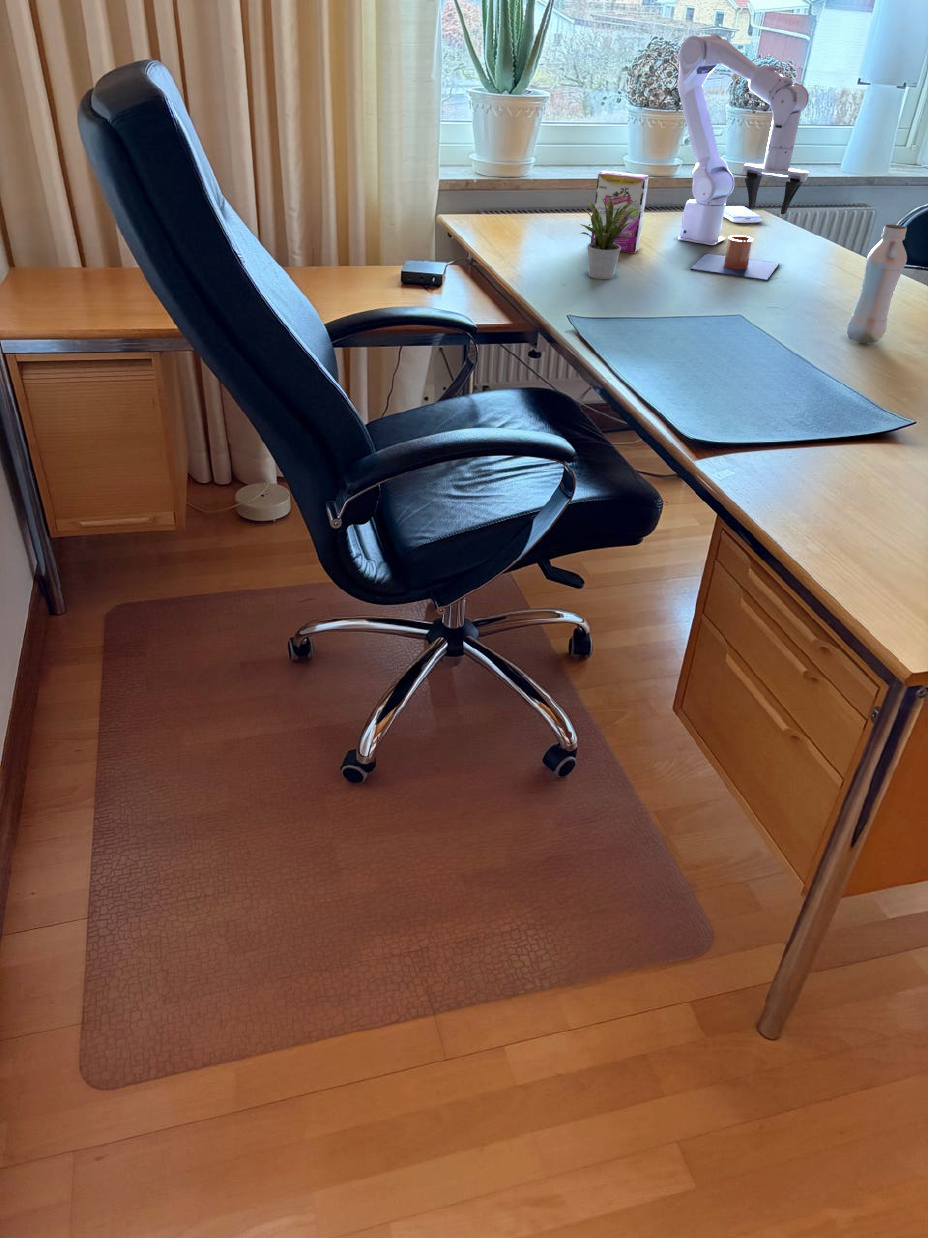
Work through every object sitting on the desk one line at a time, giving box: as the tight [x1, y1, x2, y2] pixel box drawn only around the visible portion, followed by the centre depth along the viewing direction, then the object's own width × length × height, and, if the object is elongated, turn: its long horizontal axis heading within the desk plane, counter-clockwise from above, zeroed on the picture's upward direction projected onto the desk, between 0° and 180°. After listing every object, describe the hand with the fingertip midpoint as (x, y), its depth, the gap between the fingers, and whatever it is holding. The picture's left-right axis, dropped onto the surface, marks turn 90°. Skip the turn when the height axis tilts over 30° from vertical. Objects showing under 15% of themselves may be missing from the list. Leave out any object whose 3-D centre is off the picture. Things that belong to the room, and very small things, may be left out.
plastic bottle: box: [846, 223, 908, 344], centre depth 163 cm, size 6×7×20 cm
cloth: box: [690, 253, 780, 282], centre depth 208 cm, size 17×15×1 cm
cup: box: [724, 234, 754, 269], centre depth 206 cm, size 5×5×6 cm
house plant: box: [577, 195, 639, 280], centre depth 195 cm, size 14×14×16 cm
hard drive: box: [723, 205, 763, 224], centre depth 250 cm, size 2×8×12 cm
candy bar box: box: [590, 170, 650, 254], centre depth 214 cm, size 11×5×16 cm, turn 71°
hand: (767, 210), depth 214 cm, fingers open, 7 cm apart
